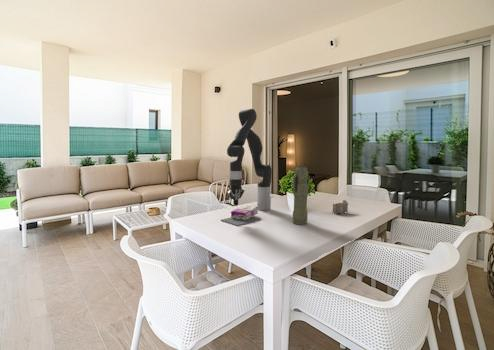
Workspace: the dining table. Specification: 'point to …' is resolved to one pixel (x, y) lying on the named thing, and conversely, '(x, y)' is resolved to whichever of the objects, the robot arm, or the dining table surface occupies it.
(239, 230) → the dining table surface
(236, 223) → the mat
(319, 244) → the dining table surface
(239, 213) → the candy bar box
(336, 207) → the architectural model on board
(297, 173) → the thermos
